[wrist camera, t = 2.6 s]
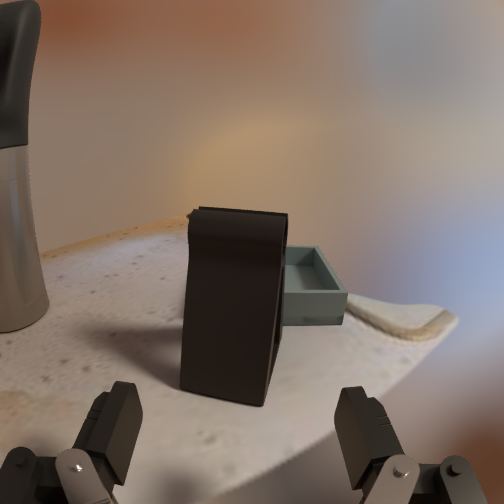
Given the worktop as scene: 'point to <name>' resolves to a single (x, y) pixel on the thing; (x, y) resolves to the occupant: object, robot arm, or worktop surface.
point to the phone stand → (233, 302)
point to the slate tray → (312, 289)
